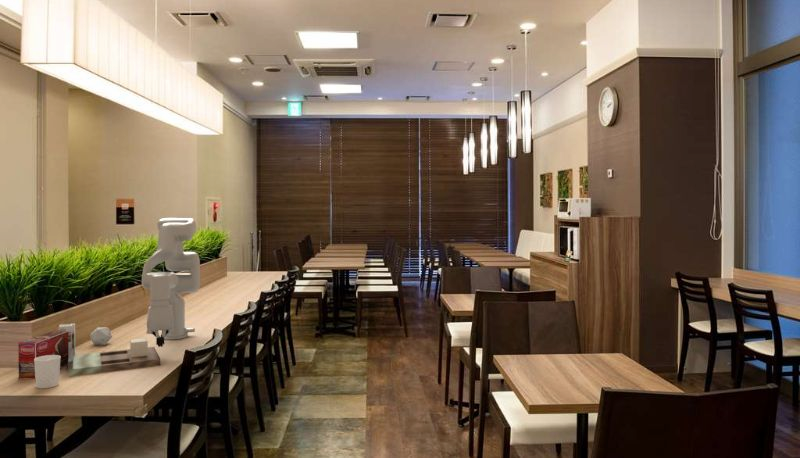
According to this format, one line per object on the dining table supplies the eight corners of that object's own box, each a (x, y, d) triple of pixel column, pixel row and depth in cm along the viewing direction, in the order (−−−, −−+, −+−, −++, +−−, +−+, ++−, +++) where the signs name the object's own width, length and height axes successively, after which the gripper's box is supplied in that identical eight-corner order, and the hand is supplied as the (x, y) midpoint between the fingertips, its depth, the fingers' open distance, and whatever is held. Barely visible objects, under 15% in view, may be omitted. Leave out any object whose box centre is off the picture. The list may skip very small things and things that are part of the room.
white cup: (42, 382, 196) (42, 355, 195) (65, 382, 196) (64, 354, 196) (29, 389, 188) (29, 360, 187) (53, 389, 188) (52, 360, 188)
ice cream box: (36, 378, 200) (35, 343, 200) (18, 378, 200) (18, 342, 200) (68, 363, 220) (68, 331, 220) (52, 363, 220) (52, 331, 220)
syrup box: (58, 361, 223) (58, 326, 223) (59, 357, 229) (59, 323, 228) (74, 359, 226) (74, 325, 226) (75, 356, 231) (75, 322, 231)
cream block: (146, 352, 230) (146, 338, 230) (147, 355, 225) (147, 341, 224) (130, 353, 227) (130, 339, 227) (131, 357, 222) (131, 342, 221)
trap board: (154, 352, 239) (154, 340, 239) (160, 365, 219) (160, 351, 219) (69, 361, 223) (69, 348, 223) (68, 376, 203) (68, 361, 203)
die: (96, 348, 247) (110, 331, 250) (82, 338, 248) (96, 321, 251) (105, 351, 254) (119, 333, 257) (91, 341, 256) (105, 324, 259)
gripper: (177, 300, 236) (177, 342, 237) (140, 303, 229) (140, 346, 229) (180, 303, 230) (180, 346, 230) (141, 306, 222) (141, 350, 223)
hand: (160, 346), depth 230 cm, fingers closed
